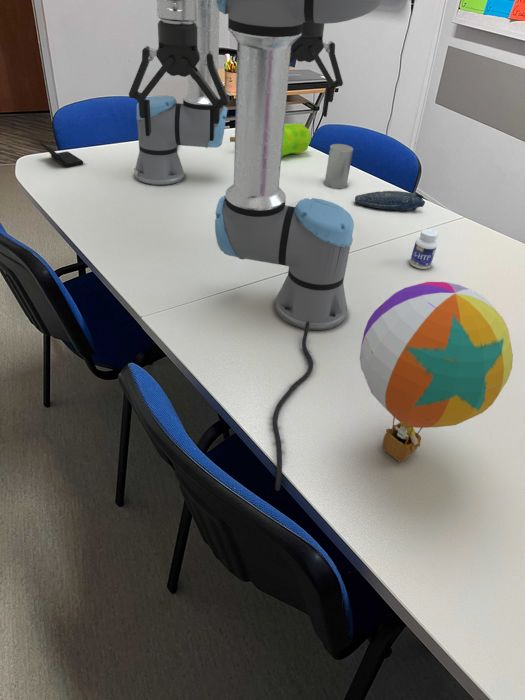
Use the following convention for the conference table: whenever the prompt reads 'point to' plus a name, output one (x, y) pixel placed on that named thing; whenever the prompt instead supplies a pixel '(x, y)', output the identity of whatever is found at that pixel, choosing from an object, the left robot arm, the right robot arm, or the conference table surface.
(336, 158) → the can
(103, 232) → the conference table surface
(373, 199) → the fish model
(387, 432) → the toy
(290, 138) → the decorative tree
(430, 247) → the pill bottle
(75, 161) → the black handled piece
